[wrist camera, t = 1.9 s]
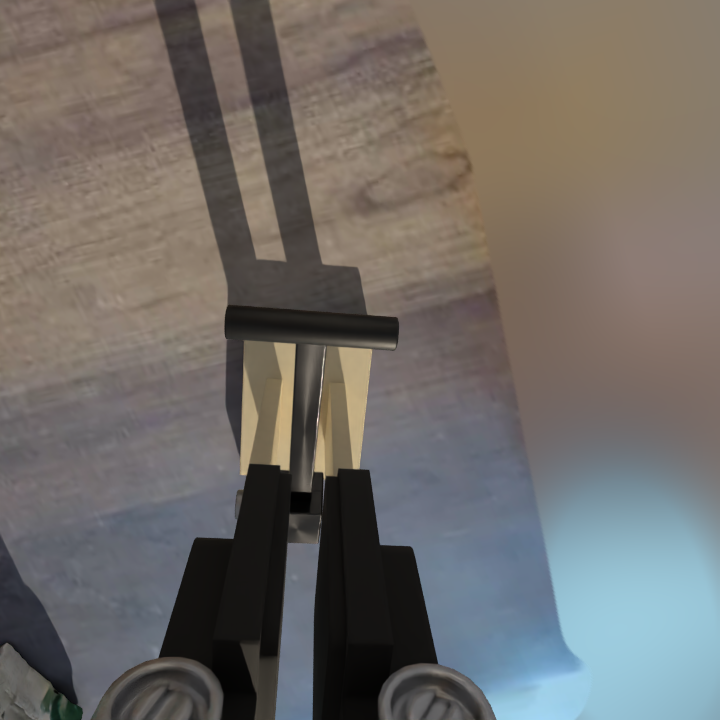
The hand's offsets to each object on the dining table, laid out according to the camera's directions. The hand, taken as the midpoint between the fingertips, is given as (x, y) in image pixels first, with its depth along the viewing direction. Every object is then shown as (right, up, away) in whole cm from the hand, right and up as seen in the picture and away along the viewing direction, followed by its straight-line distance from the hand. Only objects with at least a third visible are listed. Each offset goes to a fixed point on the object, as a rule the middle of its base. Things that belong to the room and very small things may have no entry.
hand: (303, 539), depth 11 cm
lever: (-1, +1, +17) cm, 17 cm away
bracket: (-3, 0, +31) cm, 31 cm away
